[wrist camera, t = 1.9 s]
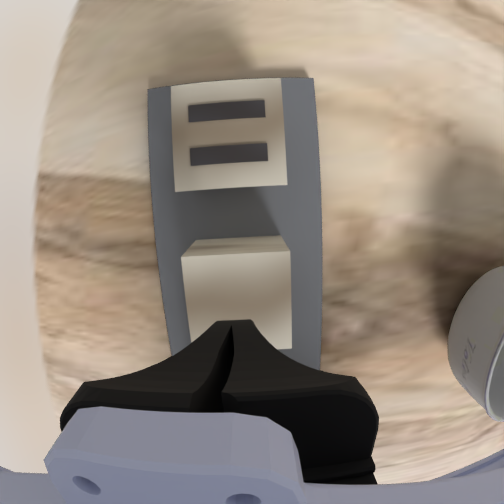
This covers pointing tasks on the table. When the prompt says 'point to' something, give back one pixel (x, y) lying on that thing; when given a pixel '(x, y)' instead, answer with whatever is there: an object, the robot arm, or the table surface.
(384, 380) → the table surface
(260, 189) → the mat
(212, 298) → the plain block
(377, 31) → the table surface
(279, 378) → the robot arm
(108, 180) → the table surface
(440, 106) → the table surface
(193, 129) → the marked block two
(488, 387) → the teacup
